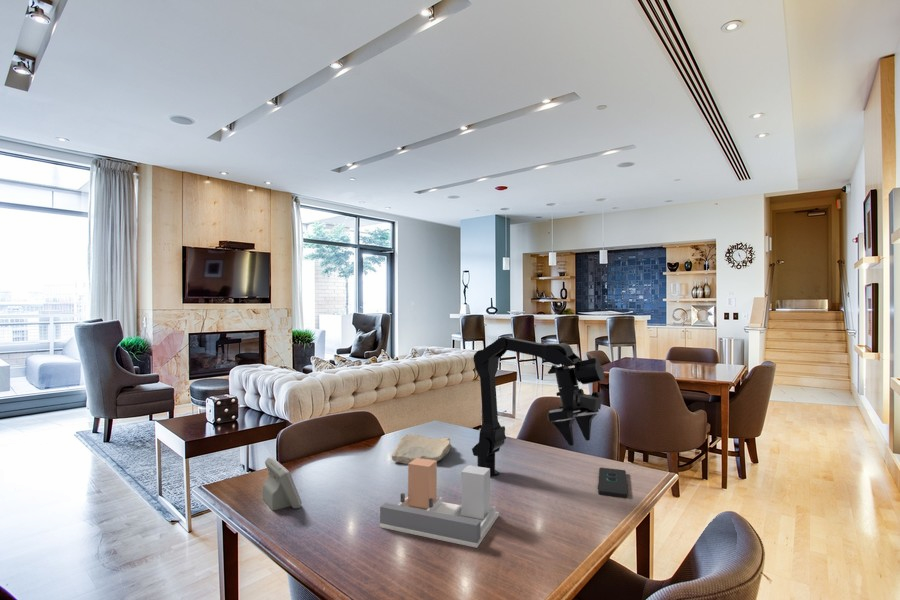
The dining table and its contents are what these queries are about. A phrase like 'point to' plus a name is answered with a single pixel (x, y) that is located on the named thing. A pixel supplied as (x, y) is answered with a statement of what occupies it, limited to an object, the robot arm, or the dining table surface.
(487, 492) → the tall white block
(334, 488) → the dining table surface
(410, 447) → the beige rock
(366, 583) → the dining table surface
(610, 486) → the smart home device
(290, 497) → the digital clock
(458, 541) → the base
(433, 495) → the tall tan brick
